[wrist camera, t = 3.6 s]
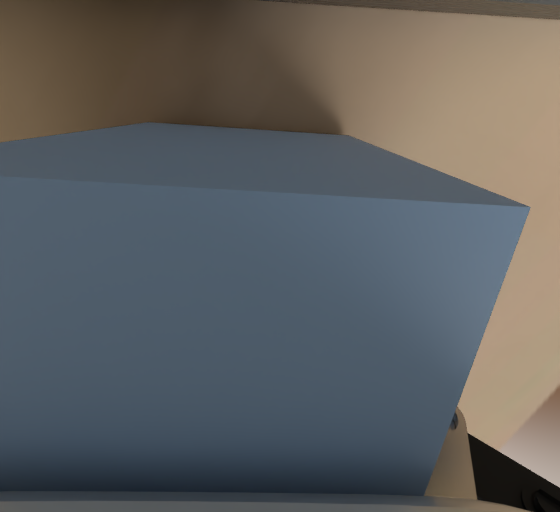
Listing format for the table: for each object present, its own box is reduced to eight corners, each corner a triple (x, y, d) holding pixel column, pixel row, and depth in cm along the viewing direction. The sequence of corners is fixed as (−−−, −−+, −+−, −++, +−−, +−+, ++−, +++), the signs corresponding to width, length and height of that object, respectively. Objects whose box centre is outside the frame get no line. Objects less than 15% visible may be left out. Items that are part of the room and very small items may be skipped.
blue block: (148, 122, 10) (-173, 166, 3) (348, 135, 10) (530, 207, 3) (173, 415, 15) (79, 712, 8) (309, 419, 15) (344, 710, 8)
